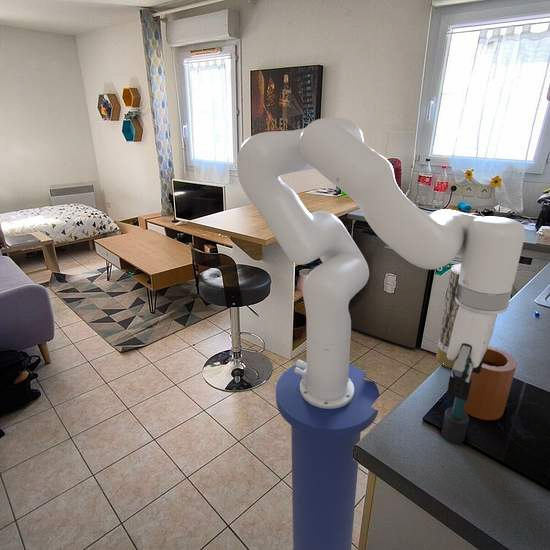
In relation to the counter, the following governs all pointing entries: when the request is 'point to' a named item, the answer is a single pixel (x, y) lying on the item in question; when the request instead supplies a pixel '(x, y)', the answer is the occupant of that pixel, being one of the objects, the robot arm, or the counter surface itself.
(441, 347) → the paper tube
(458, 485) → the counter surface
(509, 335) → the counter surface
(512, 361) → the orange hollow cylinder
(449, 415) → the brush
